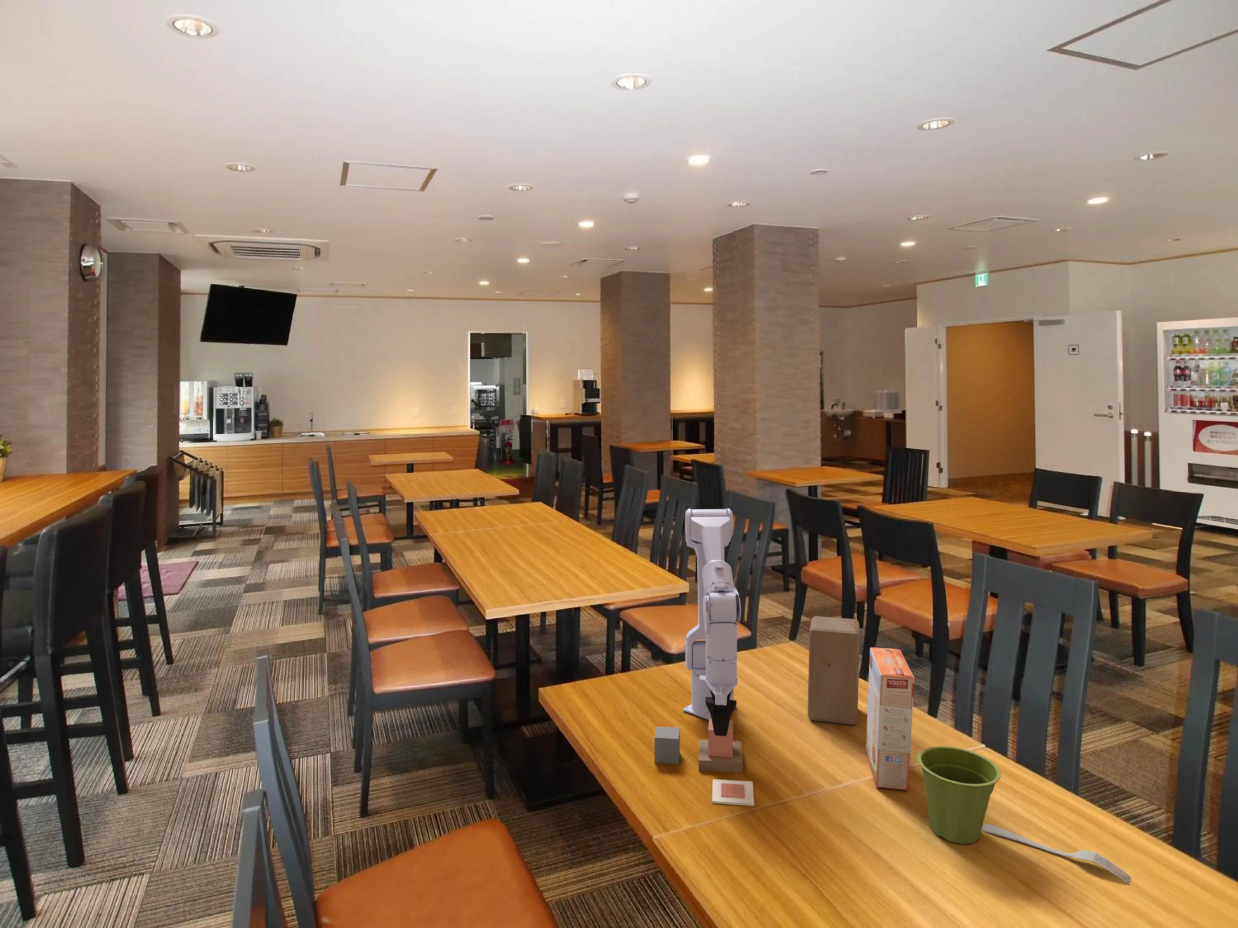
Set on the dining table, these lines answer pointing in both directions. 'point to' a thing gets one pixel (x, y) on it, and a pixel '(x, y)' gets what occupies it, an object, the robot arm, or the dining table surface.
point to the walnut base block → (720, 759)
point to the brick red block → (720, 742)
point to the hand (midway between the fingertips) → (720, 725)
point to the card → (732, 792)
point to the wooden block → (833, 670)
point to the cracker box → (889, 718)
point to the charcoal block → (667, 745)
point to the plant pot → (957, 791)
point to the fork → (1079, 855)
